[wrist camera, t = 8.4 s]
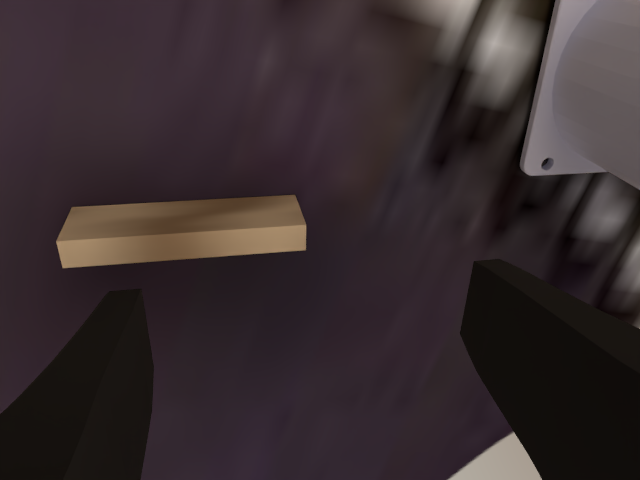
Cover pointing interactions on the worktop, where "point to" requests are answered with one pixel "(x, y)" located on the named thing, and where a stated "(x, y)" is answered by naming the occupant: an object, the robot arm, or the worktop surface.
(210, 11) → the worktop surface
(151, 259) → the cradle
